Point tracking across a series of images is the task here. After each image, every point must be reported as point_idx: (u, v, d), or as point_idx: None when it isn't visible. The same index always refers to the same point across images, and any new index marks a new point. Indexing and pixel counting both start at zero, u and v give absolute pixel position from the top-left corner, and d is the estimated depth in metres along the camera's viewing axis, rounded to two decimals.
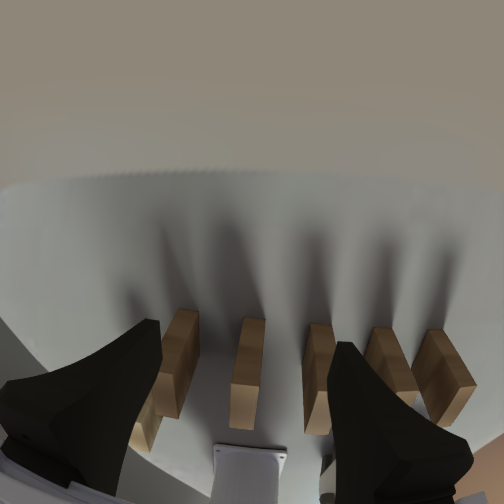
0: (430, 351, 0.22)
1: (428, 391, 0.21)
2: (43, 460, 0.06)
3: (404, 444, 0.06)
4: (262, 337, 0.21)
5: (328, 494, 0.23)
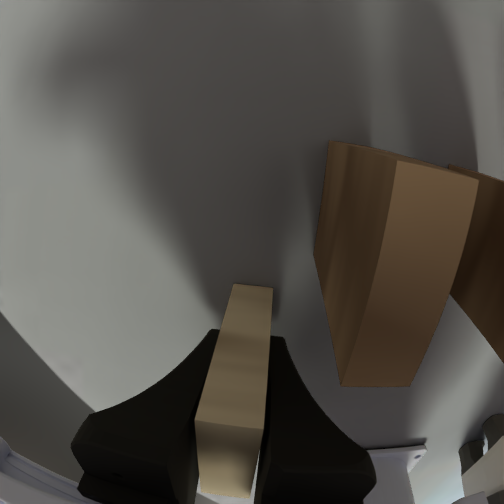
0: None
1: None
2: (135, 496, 0.05)
3: (287, 446, 0.06)
4: None
5: (500, 493, 0.10)
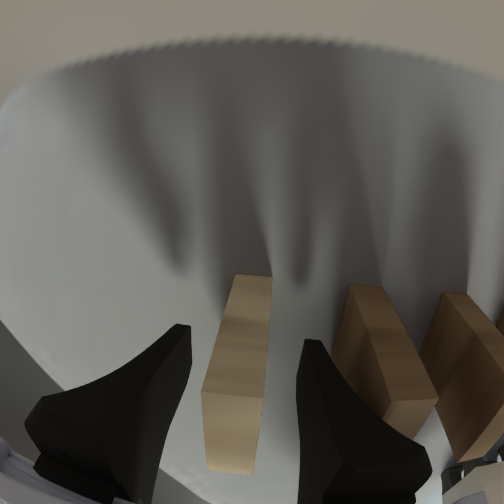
0: None
1: None
2: (83, 478, 0.06)
3: (352, 447, 0.06)
4: (486, 317, 0.11)
5: None
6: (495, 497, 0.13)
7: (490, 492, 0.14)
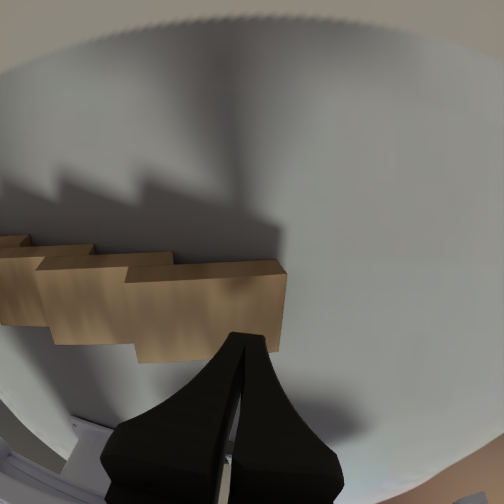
0: None
1: None
2: None
3: (252, 443, 0.06)
4: None
5: None
6: None
7: None
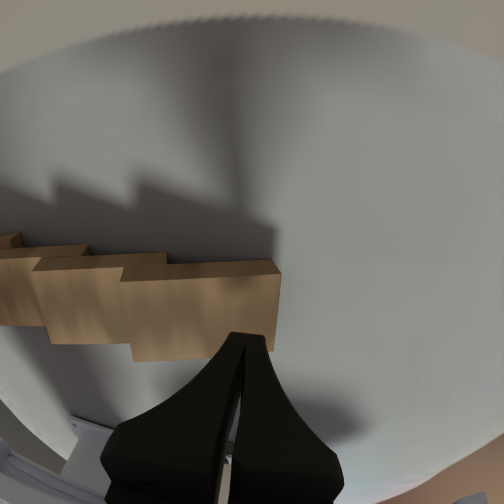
0: None
1: None
2: None
3: (252, 443, 0.06)
4: None
5: None
6: None
7: None
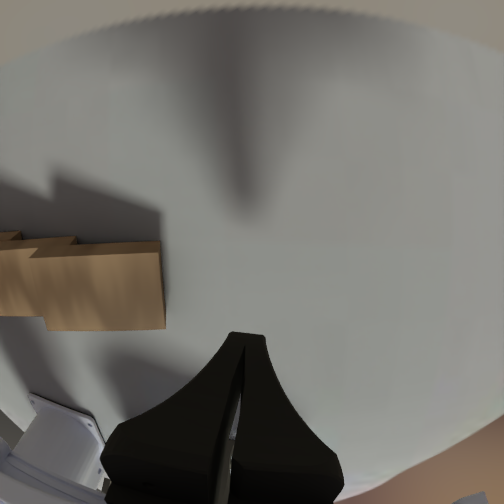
0: None
1: None
2: None
3: (252, 443, 0.06)
4: None
5: (106, 480, 0.17)
6: None
7: None
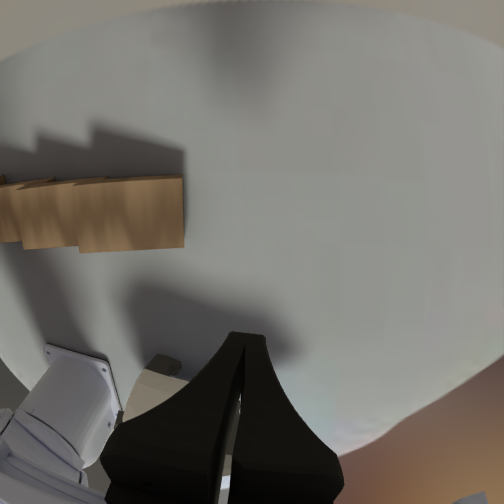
0: None
1: None
2: None
3: (252, 443, 0.06)
4: None
5: (120, 412, 0.20)
6: (140, 404, 0.20)
7: (138, 395, 0.21)
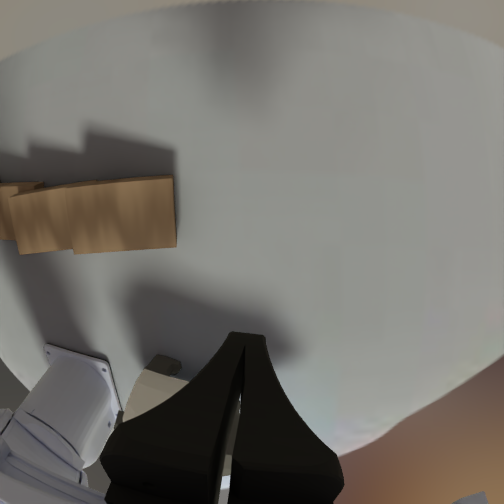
0: None
1: None
2: None
3: (252, 443, 0.06)
4: None
5: (120, 412, 0.20)
6: (140, 404, 0.20)
7: (138, 395, 0.21)
